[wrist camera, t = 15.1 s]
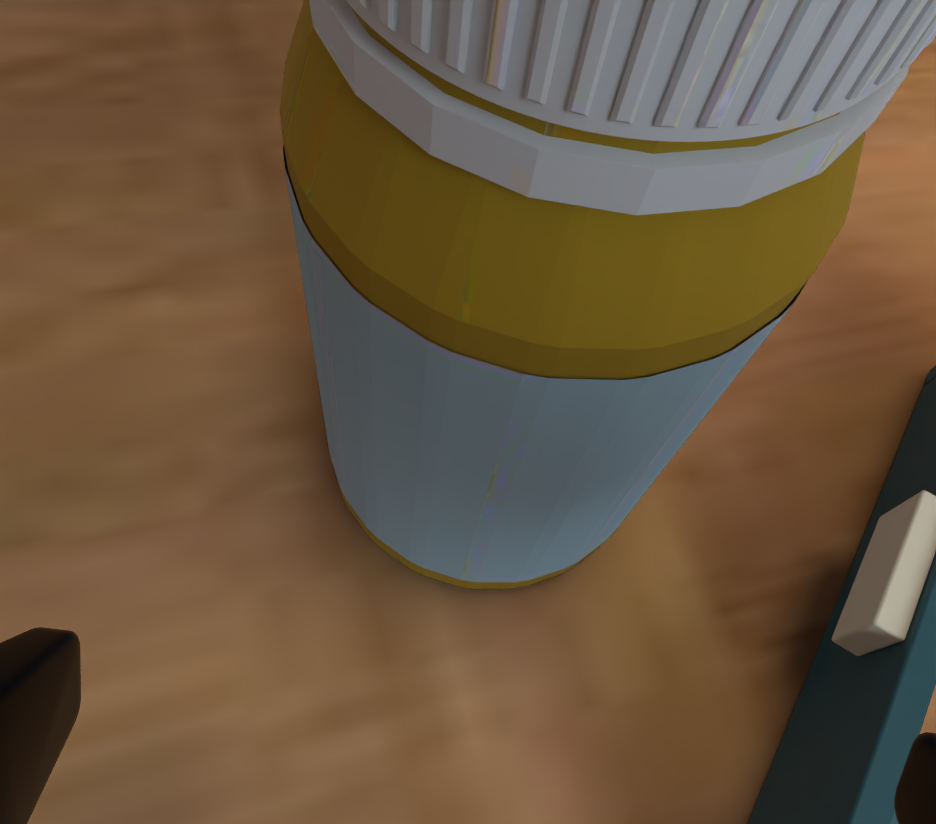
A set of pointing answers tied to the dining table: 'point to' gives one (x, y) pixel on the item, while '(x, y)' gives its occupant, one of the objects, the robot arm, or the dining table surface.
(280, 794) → the dining table surface
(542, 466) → the bottle
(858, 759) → the teal square tray
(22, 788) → the robot arm
